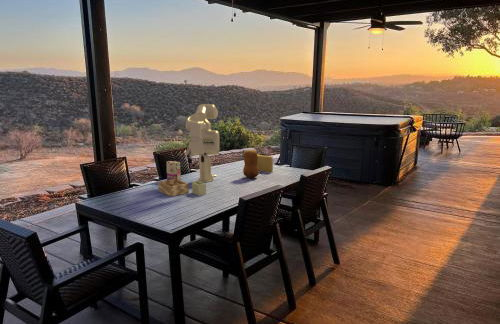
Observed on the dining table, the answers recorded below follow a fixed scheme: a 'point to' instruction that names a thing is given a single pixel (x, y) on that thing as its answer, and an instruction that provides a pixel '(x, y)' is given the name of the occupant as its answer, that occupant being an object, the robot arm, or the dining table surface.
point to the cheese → (265, 163)
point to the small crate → (199, 188)
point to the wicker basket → (173, 187)
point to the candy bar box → (173, 170)
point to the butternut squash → (251, 164)
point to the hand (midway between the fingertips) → (196, 162)
